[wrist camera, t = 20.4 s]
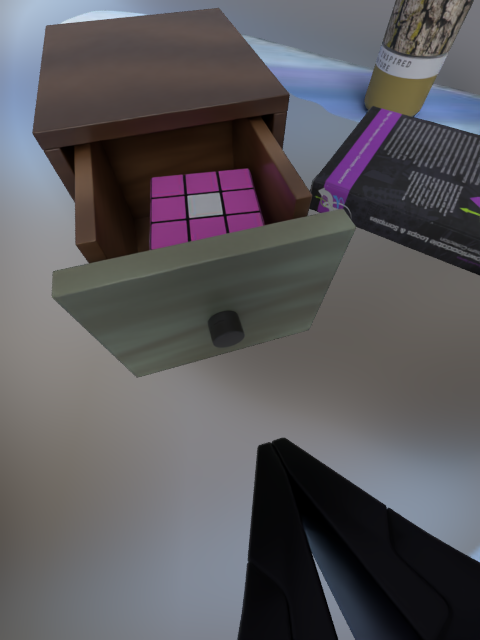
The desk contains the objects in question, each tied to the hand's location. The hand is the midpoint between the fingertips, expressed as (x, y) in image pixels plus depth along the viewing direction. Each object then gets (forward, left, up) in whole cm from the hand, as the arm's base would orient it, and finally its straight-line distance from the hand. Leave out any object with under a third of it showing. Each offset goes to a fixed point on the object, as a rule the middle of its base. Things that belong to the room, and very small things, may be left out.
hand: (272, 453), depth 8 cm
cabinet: (+6, +22, -8) cm, 24 cm away
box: (+26, +9, -8) cm, 29 cm away
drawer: (+3, +12, -7) cm, 15 cm away
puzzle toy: (+4, +12, -6) cm, 14 cm away
